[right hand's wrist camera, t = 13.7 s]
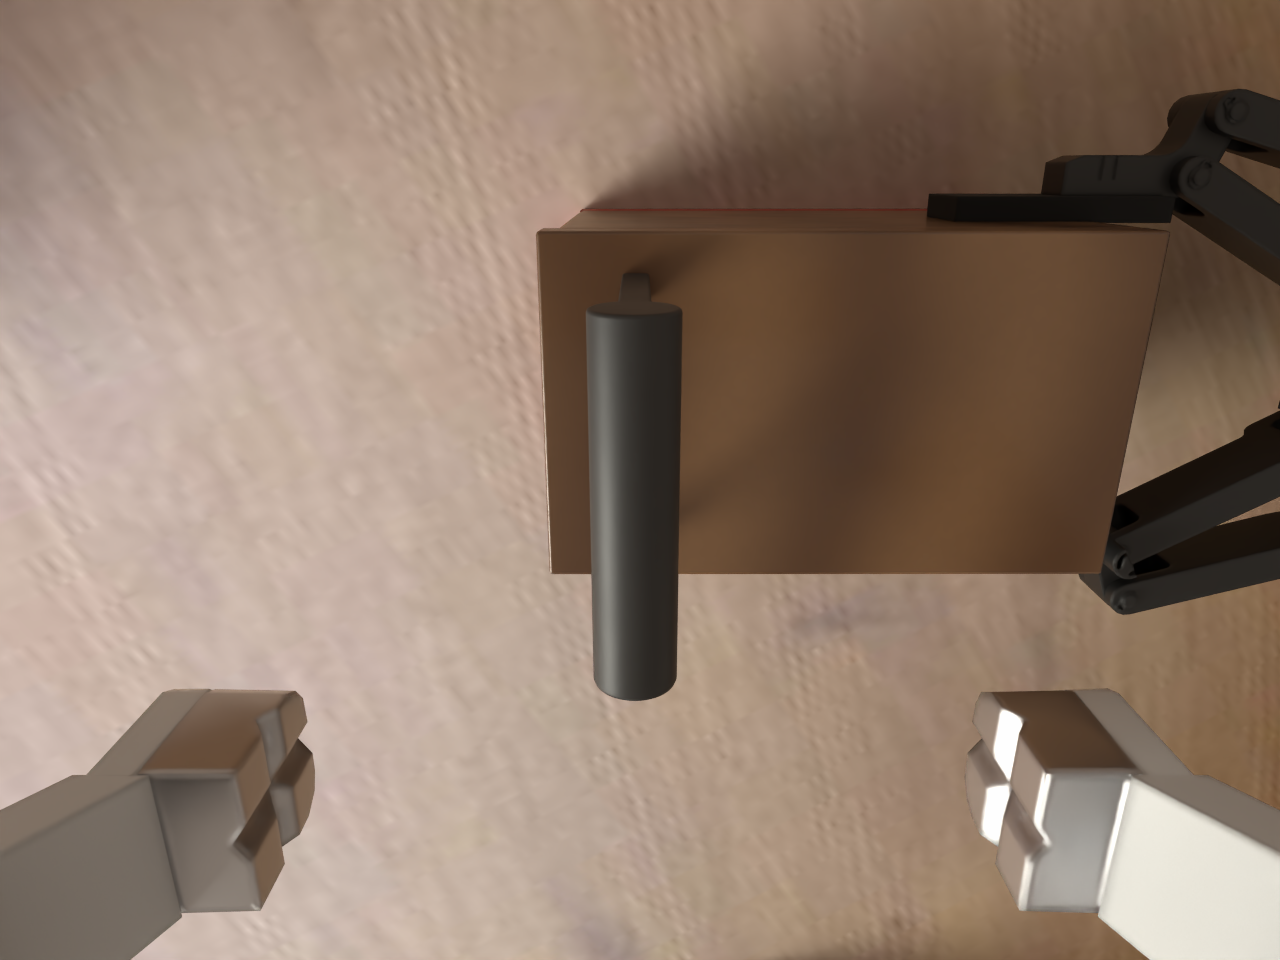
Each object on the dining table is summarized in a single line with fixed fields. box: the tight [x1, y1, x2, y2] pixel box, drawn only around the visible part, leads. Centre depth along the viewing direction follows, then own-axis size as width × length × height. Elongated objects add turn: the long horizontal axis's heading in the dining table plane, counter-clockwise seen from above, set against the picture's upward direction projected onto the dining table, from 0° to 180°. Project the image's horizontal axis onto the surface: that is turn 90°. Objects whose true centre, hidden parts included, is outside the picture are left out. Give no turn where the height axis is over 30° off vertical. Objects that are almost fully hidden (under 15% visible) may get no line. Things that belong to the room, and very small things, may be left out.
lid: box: [536, 228, 1170, 701], centre depth 21 cm, size 16×10×9 cm, turn 90°
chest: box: [561, 209, 1140, 228], centre depth 30 cm, size 16×10×11 cm, turn 90°
